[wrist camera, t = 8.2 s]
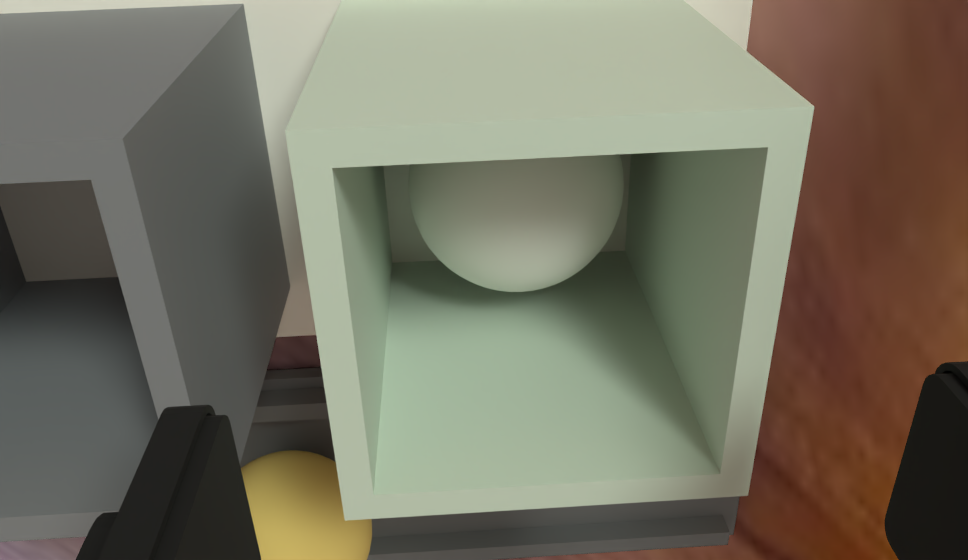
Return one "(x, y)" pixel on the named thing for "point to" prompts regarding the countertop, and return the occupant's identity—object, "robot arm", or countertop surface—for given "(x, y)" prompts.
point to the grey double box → (385, 244)
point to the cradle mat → (484, 535)
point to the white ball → (517, 216)
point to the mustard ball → (302, 509)
